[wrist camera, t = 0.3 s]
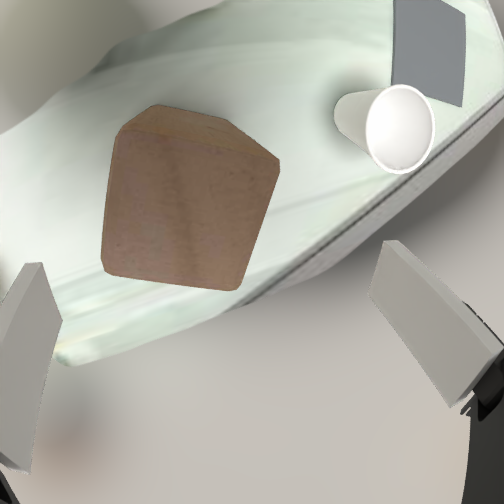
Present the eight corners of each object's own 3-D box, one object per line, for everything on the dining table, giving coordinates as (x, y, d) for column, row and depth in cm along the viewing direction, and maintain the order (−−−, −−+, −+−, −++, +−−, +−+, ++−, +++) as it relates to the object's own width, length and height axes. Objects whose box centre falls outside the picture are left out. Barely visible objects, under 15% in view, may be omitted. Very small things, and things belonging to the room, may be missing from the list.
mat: (392, -22, 26) (394, -22, 25) (463, 14, 29) (465, 14, 29) (390, 86, 35) (392, 87, 35) (459, 106, 38) (461, 107, 38)
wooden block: (233, 120, 34) (290, 160, 17) (210, 197, 38) (241, 298, 22) (149, 102, 31) (115, 122, 14) (132, 183, 35) (97, 279, 18)
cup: (393, 113, 37) (447, 129, 28) (353, 163, 40) (401, 191, 31) (349, 64, 33) (402, 65, 23) (304, 118, 35) (347, 133, 26)
